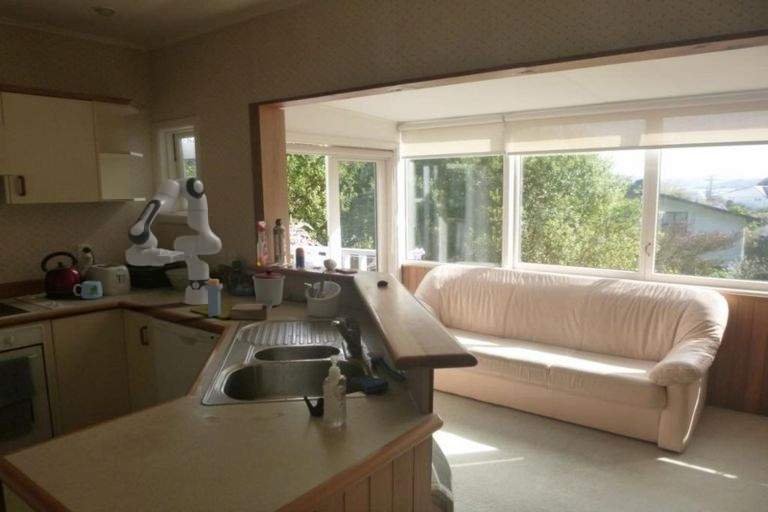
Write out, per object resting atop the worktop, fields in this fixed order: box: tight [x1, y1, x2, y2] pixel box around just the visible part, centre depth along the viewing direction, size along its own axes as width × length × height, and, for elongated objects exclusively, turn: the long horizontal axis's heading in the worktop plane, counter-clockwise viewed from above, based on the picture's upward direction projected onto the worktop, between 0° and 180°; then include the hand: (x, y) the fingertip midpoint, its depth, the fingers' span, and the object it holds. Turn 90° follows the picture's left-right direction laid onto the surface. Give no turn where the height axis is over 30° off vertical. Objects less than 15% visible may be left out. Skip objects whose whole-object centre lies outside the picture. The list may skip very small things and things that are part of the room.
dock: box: [229, 300, 273, 320], centre depth 260 cm, size 16×18×7 cm
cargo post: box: [205, 283, 224, 318], centre depth 259 cm, size 7×7×16 cm
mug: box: [72, 280, 103, 300], centre depth 300 cm, size 15×11×10 cm
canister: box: [252, 268, 286, 308], centre depth 286 cm, size 18×18×21 cm
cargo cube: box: [209, 278, 220, 286], centre depth 258 cm, size 4×4×4 cm
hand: (187, 257), depth 256 cm, fingers open, 8 cm apart
